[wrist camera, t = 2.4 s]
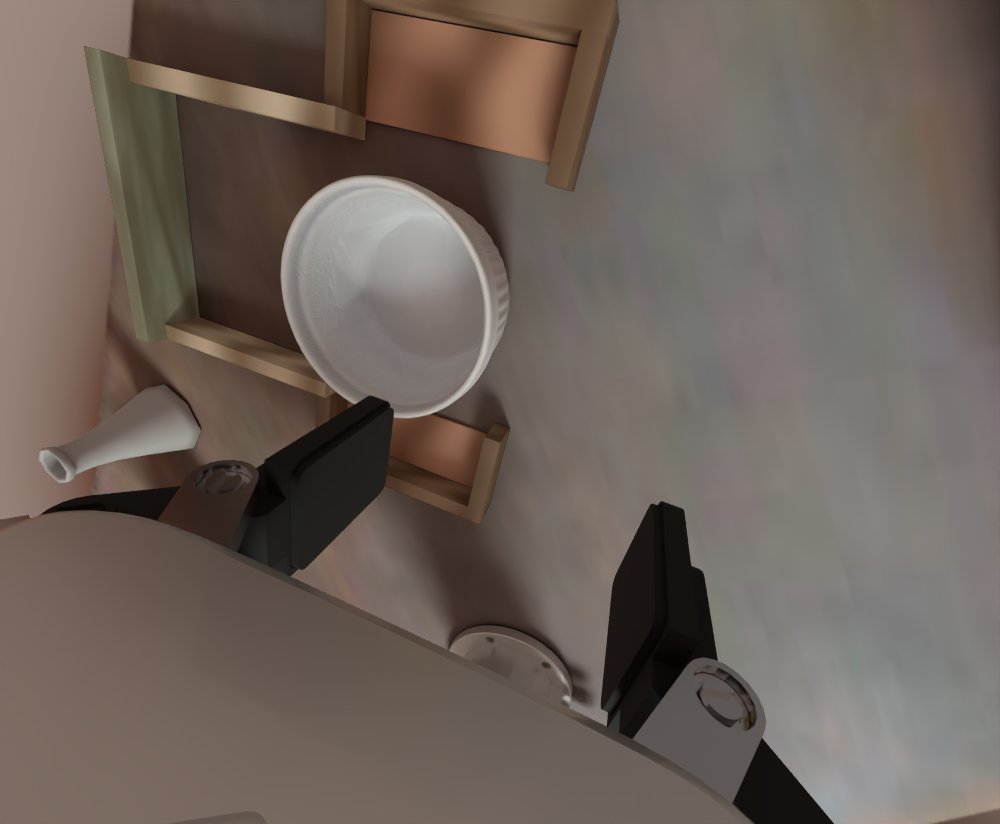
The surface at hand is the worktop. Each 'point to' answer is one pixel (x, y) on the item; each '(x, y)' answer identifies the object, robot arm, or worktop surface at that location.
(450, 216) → the ramekin
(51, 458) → the flask
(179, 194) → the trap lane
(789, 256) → the worktop surface
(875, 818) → the worktop surface
